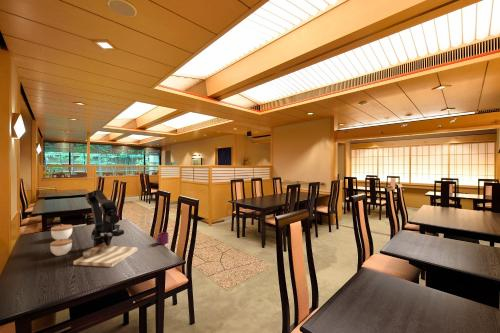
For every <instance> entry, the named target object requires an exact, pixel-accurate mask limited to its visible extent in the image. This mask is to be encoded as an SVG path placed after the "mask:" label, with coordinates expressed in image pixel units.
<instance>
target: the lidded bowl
mask: <svg viewBox="0 0 500 333" xmlns="http://www.w3.org/2000/svg"><path fill="white" fill-rule="evenodd" d="M72 233H73V225H72V224H63V223H60V225H55V226H52V227H51V228H50V234H51V238H52V239H54V241H56V240H60V239H69V238H70V237H71V235H72Z"/></svg>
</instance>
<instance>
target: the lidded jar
mask: <svg viewBox="0 0 500 333" xmlns="http://www.w3.org/2000/svg"><path fill="white" fill-rule="evenodd" d="M49 245H50V252H51V253H52V254H53V255H54V256H57V257H59V256H65V255H67V254H68V253H69V252H70V251H71V250H72V246H73V238H68V239H60V240H53V241H52V242H50V243H49Z"/></svg>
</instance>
